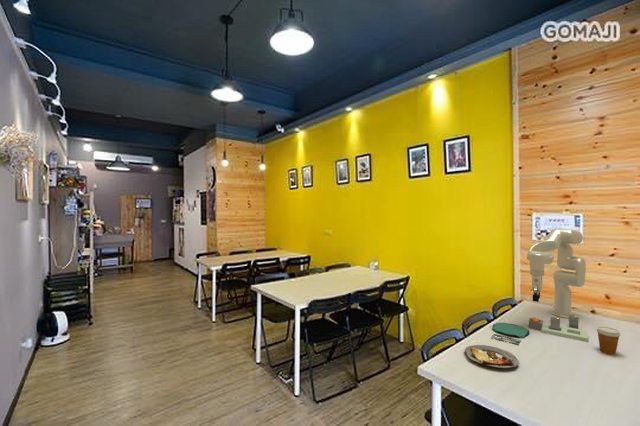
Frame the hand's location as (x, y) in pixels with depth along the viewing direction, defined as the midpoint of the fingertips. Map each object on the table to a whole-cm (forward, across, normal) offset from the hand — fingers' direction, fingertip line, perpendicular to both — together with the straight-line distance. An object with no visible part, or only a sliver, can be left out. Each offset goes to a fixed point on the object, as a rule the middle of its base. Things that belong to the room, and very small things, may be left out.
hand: (536, 299), depth 203 cm
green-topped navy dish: (+19, -20, +12) cm, 30 cm away
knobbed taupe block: (+18, +13, -19) cm, 30 cm away
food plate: (+20, -62, +15) cm, 66 cm away
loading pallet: (+19, 0, -11) cm, 21 cm away
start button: (+15, 0, 0) cm, 15 cm away
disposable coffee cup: (+19, -14, -33) cm, 41 cm away
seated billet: (+18, 0, -10) cm, 21 cm away
